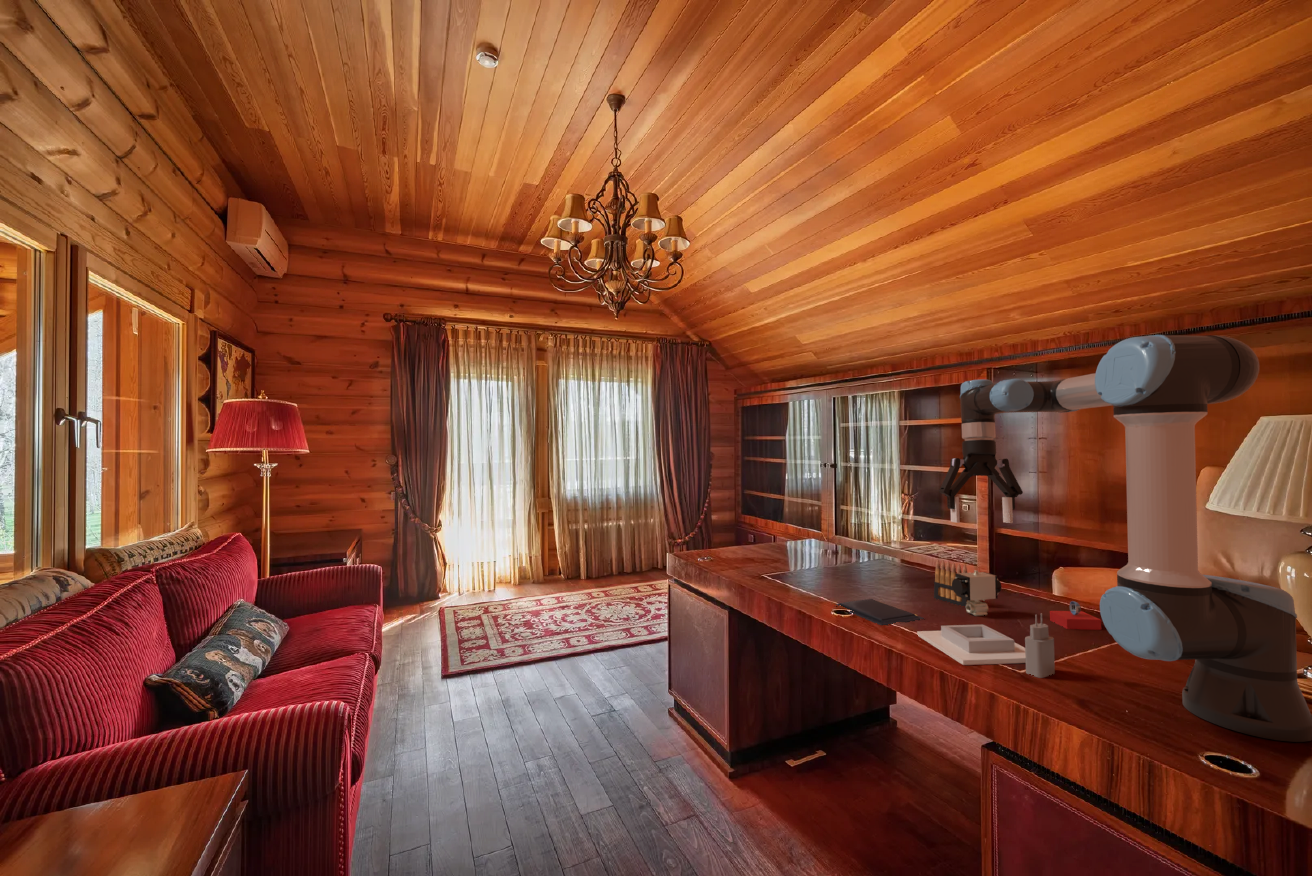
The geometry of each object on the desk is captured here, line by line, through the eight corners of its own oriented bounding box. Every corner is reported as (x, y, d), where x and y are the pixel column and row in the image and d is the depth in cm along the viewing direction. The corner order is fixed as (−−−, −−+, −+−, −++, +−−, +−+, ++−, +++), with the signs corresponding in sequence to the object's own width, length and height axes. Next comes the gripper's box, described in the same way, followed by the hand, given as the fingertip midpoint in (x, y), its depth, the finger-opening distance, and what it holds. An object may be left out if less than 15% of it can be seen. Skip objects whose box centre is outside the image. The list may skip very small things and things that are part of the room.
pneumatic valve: (1002, 615, 146) (1001, 571, 146) (963, 618, 144) (962, 573, 144) (987, 609, 151) (986, 567, 151) (949, 612, 150) (948, 568, 150)
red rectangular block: (1082, 622, 141) (1081, 597, 141) (1101, 630, 134) (1100, 605, 134) (1050, 621, 142) (1049, 597, 142) (1067, 630, 135) (1066, 605, 135)
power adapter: (1056, 673, 109) (1054, 614, 109) (1040, 678, 107) (1039, 618, 107) (1039, 667, 112) (1038, 610, 112) (1024, 672, 109) (1022, 613, 110)
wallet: (831, 600, 157) (874, 595, 162) (832, 607, 157) (874, 602, 162) (880, 621, 138) (926, 614, 143) (880, 628, 138) (927, 622, 143)
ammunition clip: (933, 598, 163) (932, 558, 163) (938, 597, 164) (937, 558, 164) (966, 607, 153) (965, 565, 154) (971, 606, 154) (970, 565, 154)
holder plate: (1044, 662, 114) (1044, 645, 114) (963, 665, 113) (962, 648, 113) (988, 633, 132) (987, 619, 132) (917, 635, 131) (917, 621, 131)
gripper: (1016, 441, 143) (1020, 521, 141) (923, 440, 143) (925, 520, 141) (1036, 439, 135) (1040, 524, 134) (938, 438, 135) (941, 523, 134)
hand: (981, 522), depth 137 cm, fingers open, 13 cm apart
